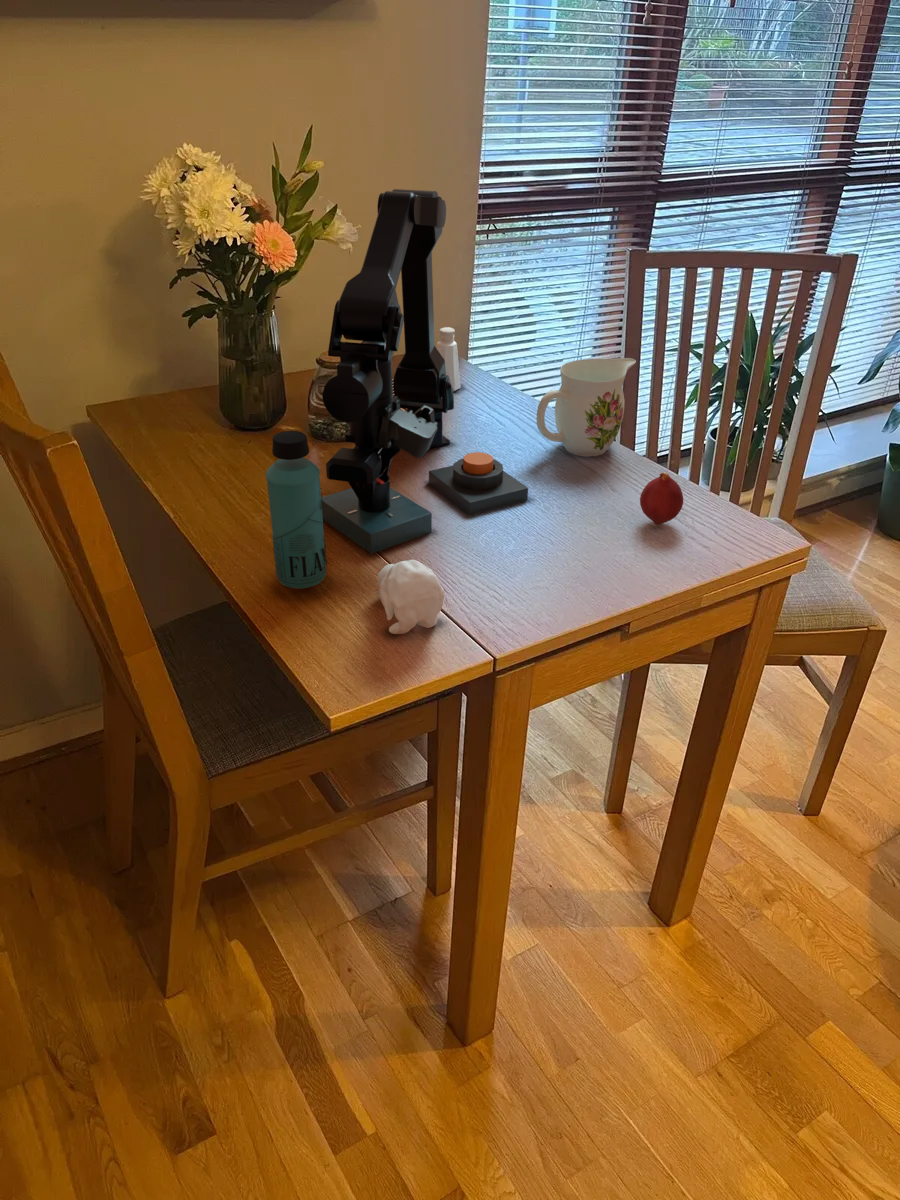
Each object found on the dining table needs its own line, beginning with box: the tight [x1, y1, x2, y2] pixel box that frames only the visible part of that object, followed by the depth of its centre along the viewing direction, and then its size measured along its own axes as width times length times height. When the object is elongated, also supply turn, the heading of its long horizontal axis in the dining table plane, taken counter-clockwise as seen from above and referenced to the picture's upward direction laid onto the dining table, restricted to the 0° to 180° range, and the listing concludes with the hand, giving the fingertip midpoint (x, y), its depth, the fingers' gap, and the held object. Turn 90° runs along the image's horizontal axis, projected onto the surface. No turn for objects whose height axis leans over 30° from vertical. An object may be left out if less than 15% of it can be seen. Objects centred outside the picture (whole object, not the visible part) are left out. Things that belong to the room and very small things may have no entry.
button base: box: [428, 458, 529, 516], centre depth 136 cm, size 12×10×4 cm
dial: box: [358, 473, 391, 512], centre depth 126 cm, size 4×4×4 cm
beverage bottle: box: [265, 430, 329, 589], centre depth 109 cm, size 6×7×20 cm
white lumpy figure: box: [374, 559, 445, 635], centre depth 107 cm, size 6×8×12 cm
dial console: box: [321, 487, 433, 555], centre depth 128 cm, size 13×10×3 cm
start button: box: [462, 451, 494, 474], centre depth 135 cm, size 4×4×2 cm
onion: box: [639, 471, 684, 526], centre depth 127 cm, size 6×6×8 cm
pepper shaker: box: [435, 326, 462, 392], centre depth 171 cm, size 5×5×11 cm
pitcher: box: [536, 357, 637, 457], centre depth 147 cm, size 11×18×14 cm, turn 119°
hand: (374, 502), depth 126 cm, fingers closed on dial, 4 cm apart
